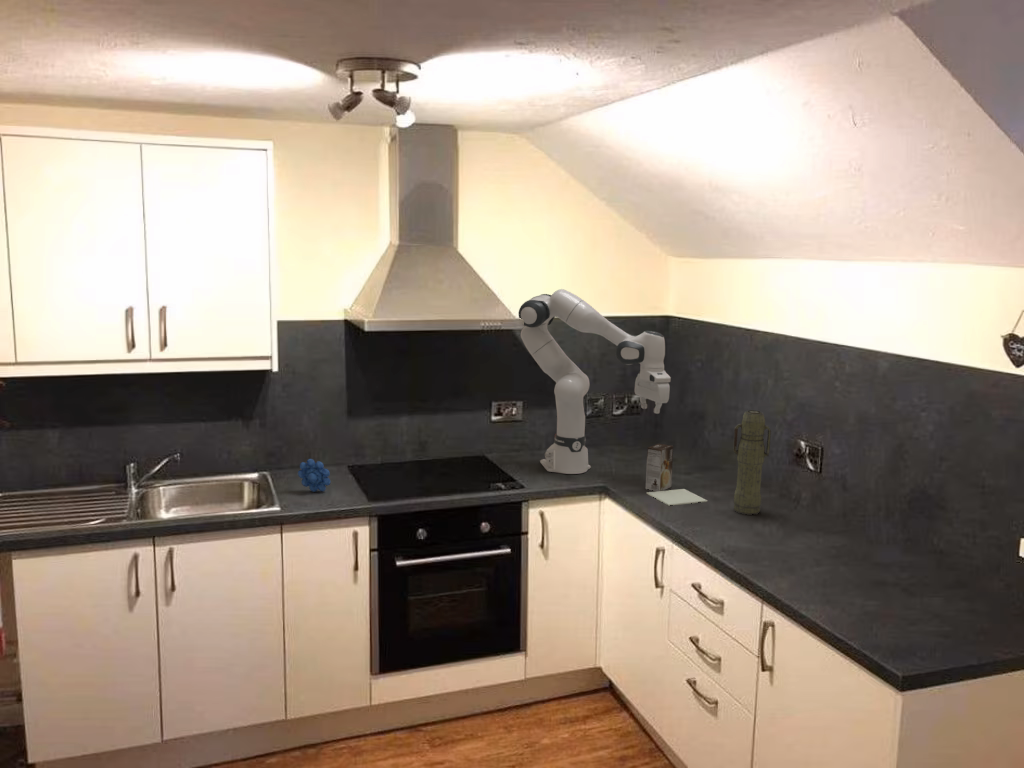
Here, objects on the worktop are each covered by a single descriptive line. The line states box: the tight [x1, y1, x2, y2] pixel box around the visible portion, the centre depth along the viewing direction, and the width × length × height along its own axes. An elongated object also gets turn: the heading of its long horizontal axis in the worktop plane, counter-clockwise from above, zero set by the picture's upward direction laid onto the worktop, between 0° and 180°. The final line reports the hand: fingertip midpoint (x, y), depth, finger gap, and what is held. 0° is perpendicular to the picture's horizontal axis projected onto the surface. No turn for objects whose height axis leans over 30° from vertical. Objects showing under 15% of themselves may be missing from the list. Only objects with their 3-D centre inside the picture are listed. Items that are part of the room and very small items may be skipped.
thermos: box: [732, 409, 772, 516], centre depth 295 cm, size 9×12×35 cm
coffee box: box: [645, 443, 674, 492], centre depth 321 cm, size 9×6×16 cm
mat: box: [646, 488, 708, 507], centre depth 311 cm, size 15×16×1 cm
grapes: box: [297, 458, 331, 493], centre depth 304 cm, size 12×7×12 cm, turn 89°
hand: (650, 410), depth 326 cm, fingers open, 8 cm apart
